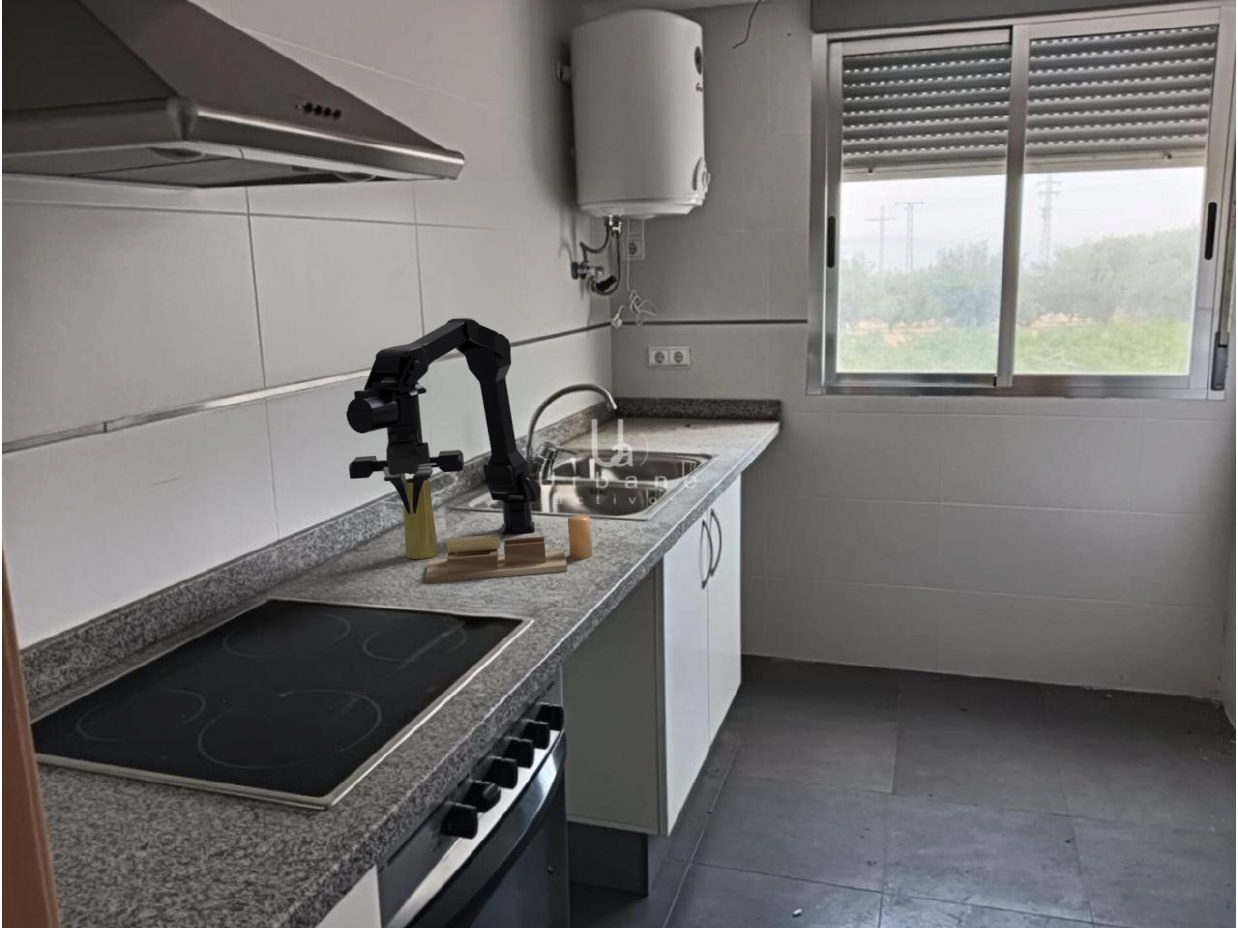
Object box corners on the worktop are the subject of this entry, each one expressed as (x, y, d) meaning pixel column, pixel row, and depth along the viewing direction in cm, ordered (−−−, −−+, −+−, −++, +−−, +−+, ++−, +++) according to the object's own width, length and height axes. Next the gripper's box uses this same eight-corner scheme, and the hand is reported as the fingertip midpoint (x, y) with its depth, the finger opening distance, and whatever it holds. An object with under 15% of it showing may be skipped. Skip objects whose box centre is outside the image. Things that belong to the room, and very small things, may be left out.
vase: (399, 555, 185) (392, 480, 182) (428, 548, 189) (421, 475, 186) (415, 561, 180) (408, 485, 177) (445, 554, 184) (438, 479, 181)
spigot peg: (569, 553, 180) (567, 516, 179) (591, 551, 181) (589, 514, 179) (570, 559, 176) (568, 521, 175) (593, 558, 177) (590, 520, 175)
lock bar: (448, 549, 173) (447, 538, 173) (500, 545, 174) (499, 534, 173) (447, 552, 171) (446, 541, 171) (500, 548, 172) (499, 537, 171)
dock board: (430, 565, 177) (427, 541, 176) (564, 554, 180) (562, 530, 179) (425, 582, 167) (423, 557, 167) (567, 570, 170) (565, 545, 169)
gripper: (339, 435, 158) (349, 529, 161) (457, 427, 160) (465, 520, 163) (350, 424, 169) (359, 513, 172) (460, 417, 171) (467, 505, 174)
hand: (412, 513), depth 170 cm, fingers closed
